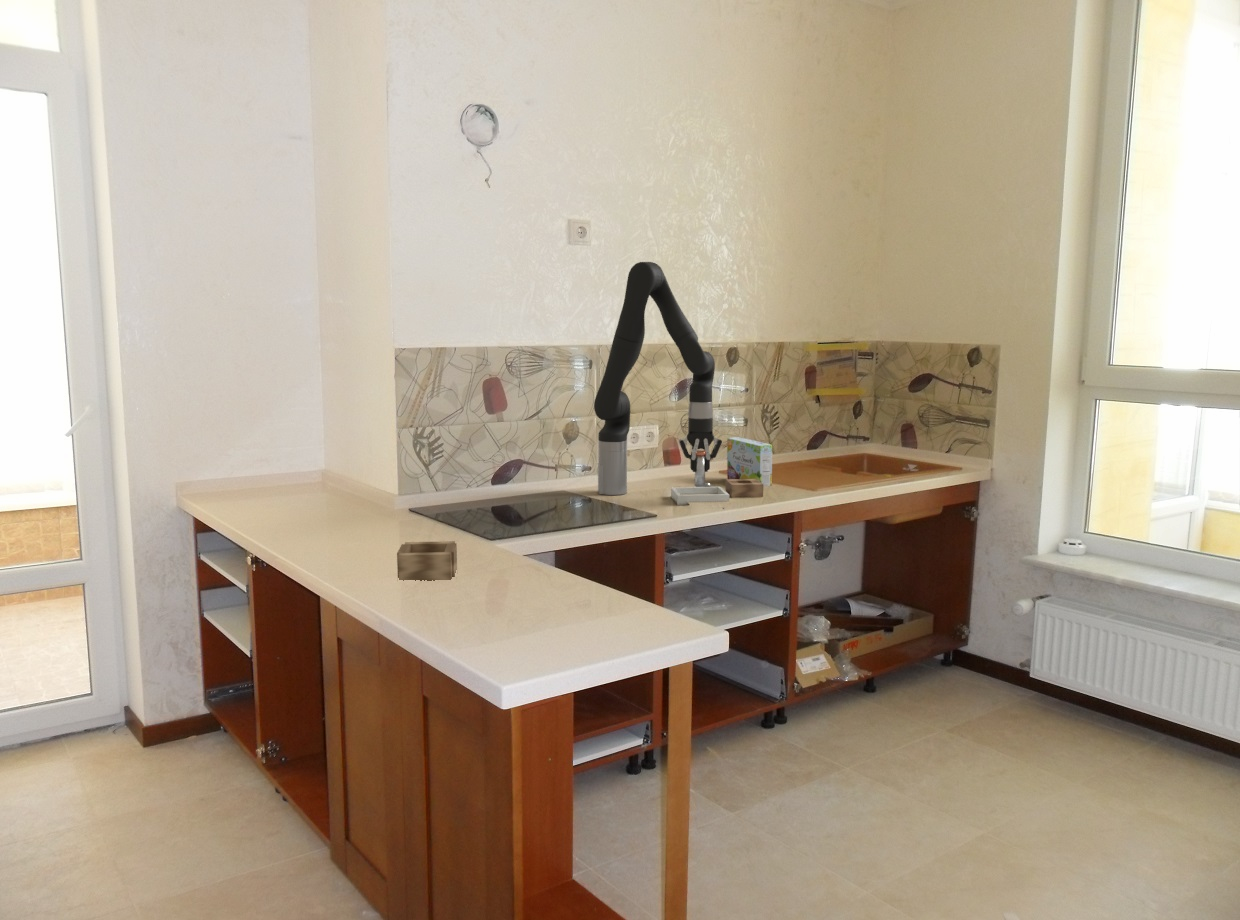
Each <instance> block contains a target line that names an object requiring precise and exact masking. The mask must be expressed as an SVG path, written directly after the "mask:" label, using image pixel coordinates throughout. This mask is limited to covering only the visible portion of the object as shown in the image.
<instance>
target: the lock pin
mask: <svg viewBox="0 0 1240 920" xmlns="http://www.w3.org/2000/svg"><path fill="white" fill-rule="evenodd" d="M705 455H706V452H705V451H704V450H703V449H697V453H696V457H695V460H696V472H694V487H704V486H705V483H706V472H705Z"/></svg>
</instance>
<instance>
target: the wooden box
mask: <svg viewBox="0 0 1240 920" xmlns="http://www.w3.org/2000/svg"><path fill="white" fill-rule="evenodd" d="M724 490H725V491H726V492H727V493H728V494H729V497H730V498H734V499H735V498H764V486H763V484H762V483H761V482H760V481H758V480H757V479H727V478H725V489H724Z"/></svg>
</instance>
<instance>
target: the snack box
mask: <svg viewBox="0 0 1240 920" xmlns="http://www.w3.org/2000/svg"><path fill="white" fill-rule="evenodd" d="M726 442H727V443H726V444H727V445H726V446H727V447H726V450H727V451H726V453H727V454H726V456H727V458H726V459H727V462H726V463H727V466H726V467H727V470H726V473H727V474H726V475H727V476H726V479H757V480H758V481H760V482H761V483H762V484H763V487H769V486H770V487H771V486H772V483H773V482H772V481H773V480H772V478H773V444H770V443H766V442H762V441H758V440H754V439H750V438H744V437H740V436H732V437H727V441H726Z"/></svg>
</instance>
